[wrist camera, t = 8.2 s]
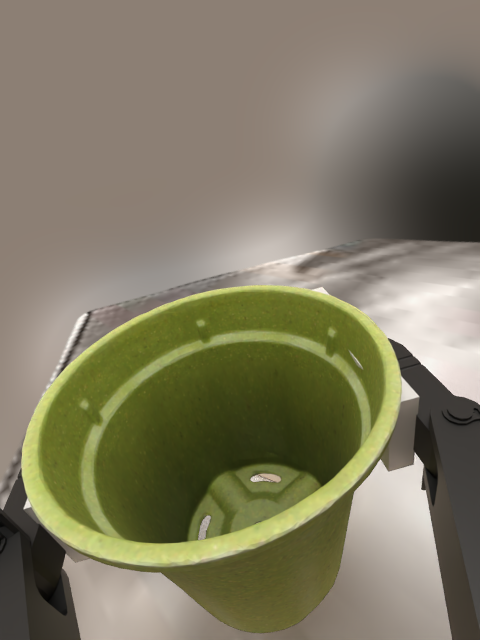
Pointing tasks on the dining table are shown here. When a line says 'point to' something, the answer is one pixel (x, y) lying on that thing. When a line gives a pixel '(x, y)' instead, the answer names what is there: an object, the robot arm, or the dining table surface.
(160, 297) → the dining table surface
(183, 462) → the plant pot
